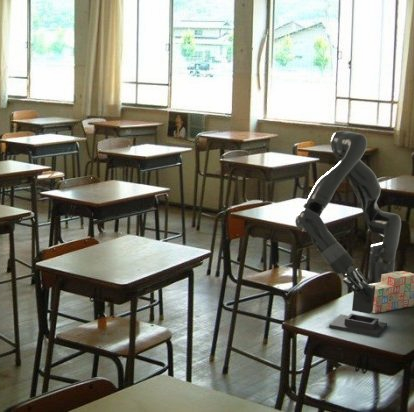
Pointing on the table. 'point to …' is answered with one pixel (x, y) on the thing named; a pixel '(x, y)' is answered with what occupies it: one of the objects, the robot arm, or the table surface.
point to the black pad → (359, 302)
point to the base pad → (359, 324)
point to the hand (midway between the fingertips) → (369, 297)
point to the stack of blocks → (394, 291)
